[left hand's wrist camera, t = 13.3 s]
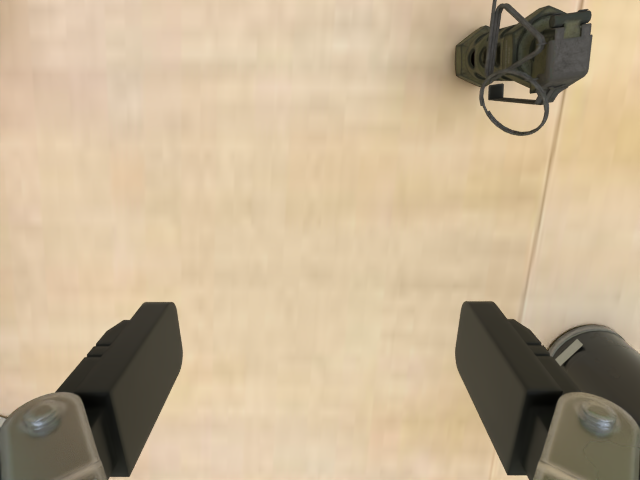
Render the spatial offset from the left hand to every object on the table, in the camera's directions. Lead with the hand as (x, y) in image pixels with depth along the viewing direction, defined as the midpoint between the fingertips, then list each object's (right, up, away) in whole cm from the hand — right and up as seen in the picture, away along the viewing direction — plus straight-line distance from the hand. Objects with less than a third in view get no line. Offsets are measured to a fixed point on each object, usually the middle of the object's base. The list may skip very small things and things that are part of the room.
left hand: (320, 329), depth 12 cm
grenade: (+14, +18, +27) cm, 36 cm away
